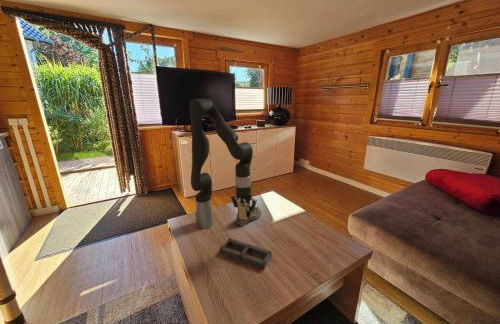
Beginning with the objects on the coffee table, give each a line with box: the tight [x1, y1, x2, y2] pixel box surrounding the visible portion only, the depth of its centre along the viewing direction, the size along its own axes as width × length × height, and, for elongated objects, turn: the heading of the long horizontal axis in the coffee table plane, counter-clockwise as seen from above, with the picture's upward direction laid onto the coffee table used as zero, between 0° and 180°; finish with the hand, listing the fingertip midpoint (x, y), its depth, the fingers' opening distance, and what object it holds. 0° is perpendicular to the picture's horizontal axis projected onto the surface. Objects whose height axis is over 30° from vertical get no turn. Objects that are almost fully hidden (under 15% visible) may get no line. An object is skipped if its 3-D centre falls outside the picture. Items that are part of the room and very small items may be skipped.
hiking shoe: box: [235, 206, 262, 227], centre depth 136 cm, size 9×21×12 cm, turn 139°
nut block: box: [239, 204, 248, 220], centre depth 106 cm, size 4×4×7 cm
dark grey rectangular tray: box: [219, 238, 273, 270], centre depth 105 cm, size 24×9×3 cm, turn 63°
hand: (244, 215), depth 107 cm, fingers closed on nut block, 4 cm apart
